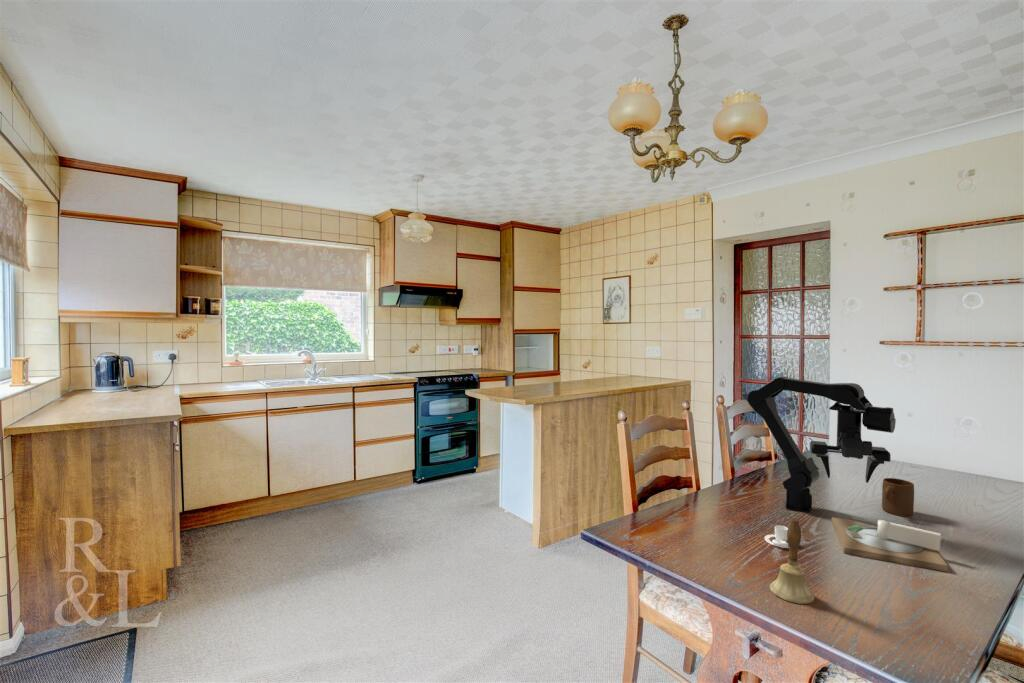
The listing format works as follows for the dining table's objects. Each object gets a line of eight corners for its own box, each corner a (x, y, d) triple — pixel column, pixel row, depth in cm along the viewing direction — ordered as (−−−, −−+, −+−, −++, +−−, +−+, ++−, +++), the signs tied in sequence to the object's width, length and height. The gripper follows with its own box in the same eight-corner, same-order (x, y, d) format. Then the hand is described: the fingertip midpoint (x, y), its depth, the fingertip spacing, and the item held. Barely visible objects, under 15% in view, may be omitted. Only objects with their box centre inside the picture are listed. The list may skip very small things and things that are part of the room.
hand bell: (798, 582, 107) (800, 511, 106) (823, 604, 98) (825, 527, 98) (761, 582, 106) (763, 512, 106) (784, 604, 98) (786, 528, 98)
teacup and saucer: (784, 553, 121) (784, 537, 121) (755, 540, 128) (756, 525, 128) (805, 546, 125) (806, 530, 125) (776, 534, 132) (777, 519, 132)
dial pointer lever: (850, 531, 129) (850, 515, 129) (851, 528, 131) (852, 512, 131) (939, 553, 117) (940, 536, 116) (940, 549, 118) (940, 532, 118)
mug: (901, 522, 139) (902, 490, 139) (871, 513, 146) (872, 482, 145) (917, 513, 146) (918, 483, 145) (887, 505, 152) (888, 476, 152)
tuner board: (843, 553, 120) (844, 545, 120) (831, 522, 139) (831, 515, 139) (947, 571, 111) (947, 563, 111) (919, 536, 130) (919, 529, 130)
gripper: (814, 429, 136) (813, 483, 137) (896, 436, 128) (894, 493, 129) (810, 421, 146) (808, 472, 147) (886, 428, 138) (884, 481, 138)
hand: (847, 480), depth 140 cm, fingers open, 9 cm apart
